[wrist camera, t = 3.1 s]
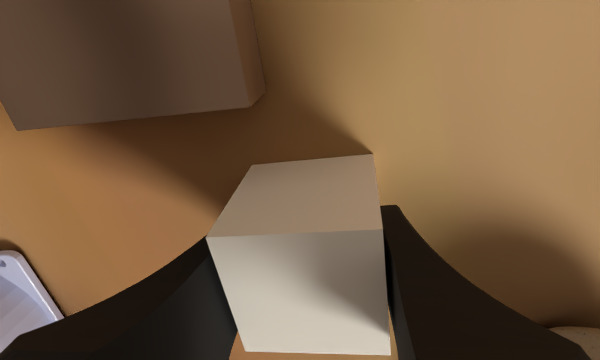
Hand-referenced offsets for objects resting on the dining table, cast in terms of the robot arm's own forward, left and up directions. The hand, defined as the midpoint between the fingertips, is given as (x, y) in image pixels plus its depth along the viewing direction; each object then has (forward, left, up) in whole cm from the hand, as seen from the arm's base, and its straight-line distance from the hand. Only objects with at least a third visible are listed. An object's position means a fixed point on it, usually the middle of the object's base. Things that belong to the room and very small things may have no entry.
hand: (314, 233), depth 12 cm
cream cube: (0, 0, -2) cm, 2 cm away
